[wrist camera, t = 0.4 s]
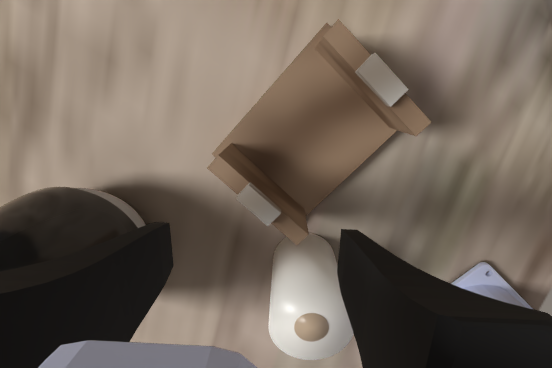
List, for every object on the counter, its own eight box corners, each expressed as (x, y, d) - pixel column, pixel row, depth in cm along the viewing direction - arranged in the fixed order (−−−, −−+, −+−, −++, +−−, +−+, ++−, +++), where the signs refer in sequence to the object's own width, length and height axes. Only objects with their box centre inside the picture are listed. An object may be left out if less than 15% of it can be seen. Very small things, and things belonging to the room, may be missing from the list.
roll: (347, 259, 23) (373, 327, 16) (303, 296, 24) (311, 373, 18) (303, 220, 22) (311, 275, 15) (260, 260, 23) (250, 328, 17)
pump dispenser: (191, 272, 24) (49, 547, 9) (80, 296, 25) (-203, 577, 10) (144, 156, 21) (-166, 296, 6) (21, 189, 22) (-486, 372, 8)
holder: (406, 114, 20) (451, 122, 14) (294, 220, 22) (297, 261, 17) (324, 26, 18) (341, -3, 13) (215, 151, 21) (190, 171, 15)
